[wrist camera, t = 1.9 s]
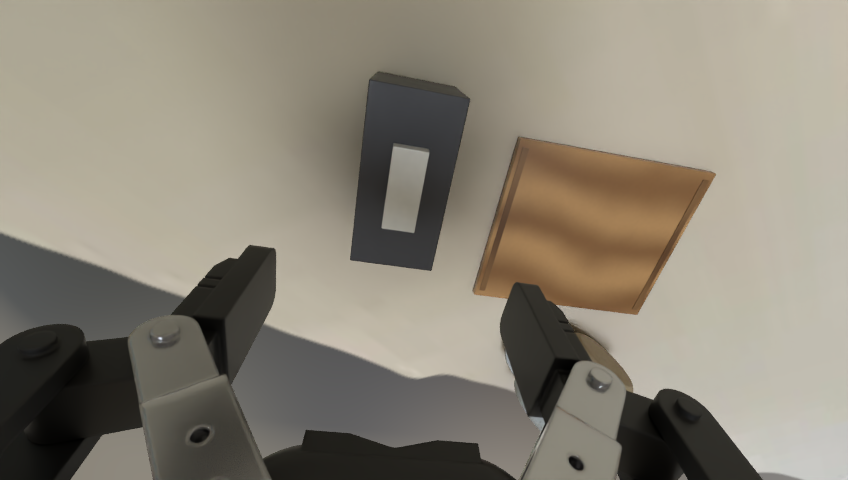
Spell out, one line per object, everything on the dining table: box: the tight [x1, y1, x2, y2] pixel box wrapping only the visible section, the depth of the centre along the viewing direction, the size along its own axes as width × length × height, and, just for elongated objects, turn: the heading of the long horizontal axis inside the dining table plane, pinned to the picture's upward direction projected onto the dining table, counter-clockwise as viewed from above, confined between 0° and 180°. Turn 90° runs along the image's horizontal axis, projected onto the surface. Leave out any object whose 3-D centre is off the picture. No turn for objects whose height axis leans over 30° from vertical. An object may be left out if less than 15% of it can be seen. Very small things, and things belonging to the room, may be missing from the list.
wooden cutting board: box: [473, 137, 716, 315], centre depth 31 cm, size 14×16×1 cm
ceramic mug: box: [505, 333, 633, 431], centre depth 34 cm, size 11×8×8 cm
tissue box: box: [350, 72, 470, 271], centre depth 24 cm, size 11×5×7 cm, turn 170°
